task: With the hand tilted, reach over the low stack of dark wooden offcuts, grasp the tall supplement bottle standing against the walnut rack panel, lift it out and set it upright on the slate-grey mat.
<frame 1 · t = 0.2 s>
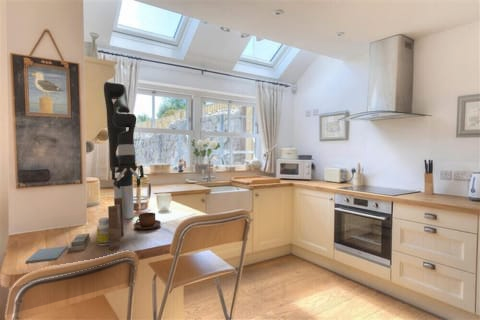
hand: (128, 187, 132), 18 cm above the breakfast bar, tool pointing down, fingers open, 8 cm apart
offcut rack: (105, 243, 107), on the breakfast bar
cup and saucer: (147, 227, 128), on the breakfast bar
supplement bottle: (105, 243, 107), on the breakfast bar
grey mat: (47, 254, 97), on the breakfast bar
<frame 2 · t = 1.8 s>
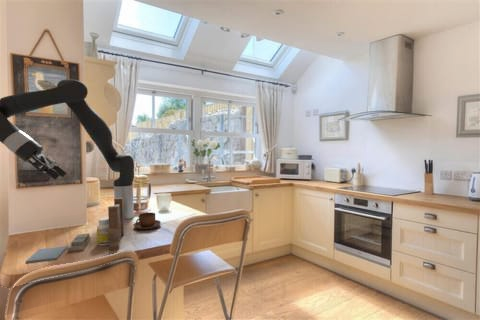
hand: (61, 176, 103), 27 cm above the breakfast bar, tool tilted 45°, fingers open, 8 cm apart
nothing on the breakfast bar moved.
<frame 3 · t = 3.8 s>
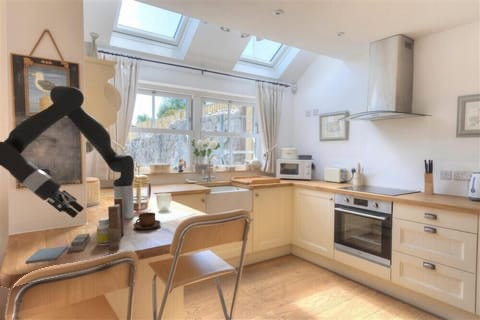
hand: (79, 213, 104), 13 cm above the breakfast bar, tool tilted 45°, fingers open, 8 cm apart
nothing on the breakfast bar moved.
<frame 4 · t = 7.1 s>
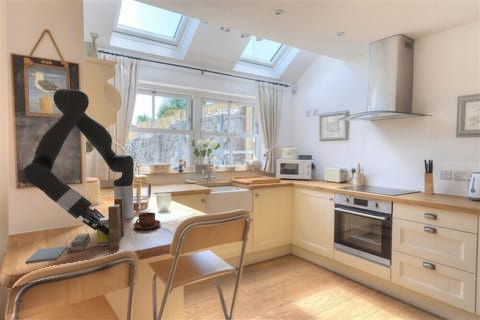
hand: (110, 230, 108), 5 cm above the breakfast bar, tool tilted 45°, fingers closed on supplement bottle, 5 cm apart
supplement bottle: (105, 243, 107), on the breakfast bar, touching gripper
everything else where it was.
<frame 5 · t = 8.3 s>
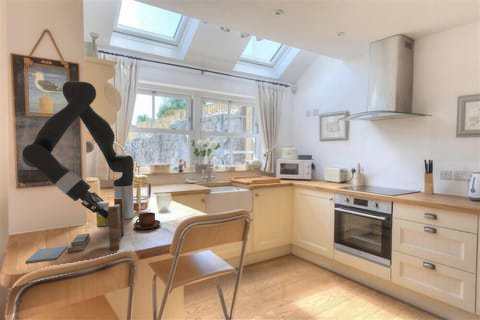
hand: (109, 214, 107), 11 cm above the breakfast bar, tool tilted 45°, fingers closed on supplement bottle, 5 cm apart
supplement bottle: (104, 227, 107), point 6 cm above the breakfast bar, touching gripper
everything else where it was.
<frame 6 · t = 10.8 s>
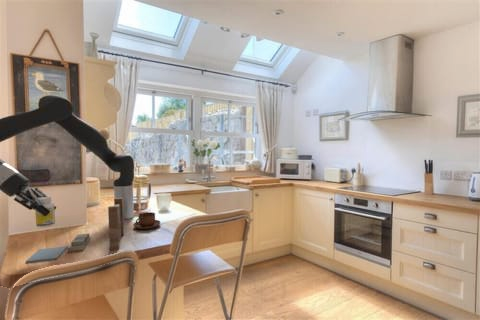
hand: (51, 211, 96), 15 cm above the breakfast bar, tool tilted 45°, fingers closed on supplement bottle, 5 cm apart
supplement bottle: (45, 226, 96), point 10 cm above the breakfast bar, touching gripper
everything else where it was.
when the fingers open (7 cm above the breakfast bar, at t = 13.1 s): supplement bottle drops 1 cm, resting on grey mat.
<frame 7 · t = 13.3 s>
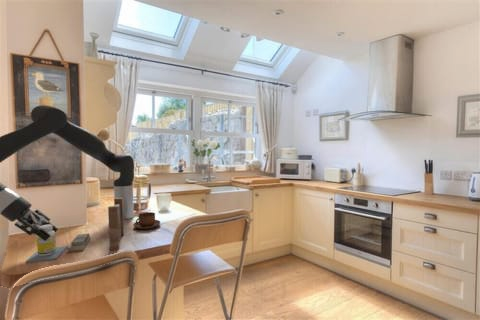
hand: (52, 234, 97), 7 cm above the breakfast bar, tool tilted 45°, fingers open, 7 cm apart
supplement bottle: (47, 253, 96), resting on grey mat
everything else where it was.
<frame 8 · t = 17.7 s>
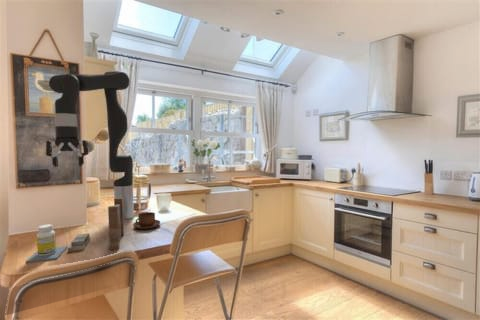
hand: (68, 166, 110), 30 cm above the breakfast bar, tool pointing down, fingers open, 8 cm apart
nothing on the breakfast bar moved.
at the end: supplement bottle inside the target area on the grey mat (0.2 cm from its centre), point 0.4 cm above the grey mat's base; supplement bottle tilted 0°; the gripper is holding nothing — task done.
